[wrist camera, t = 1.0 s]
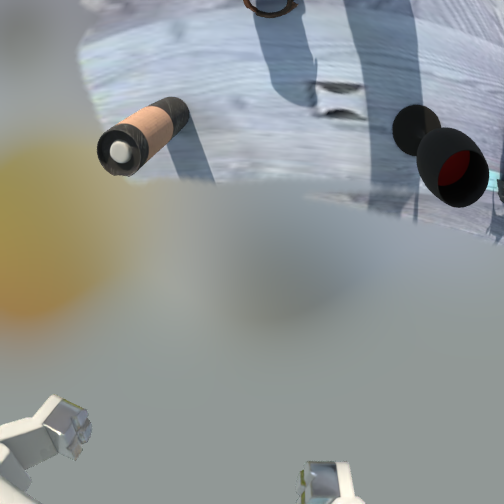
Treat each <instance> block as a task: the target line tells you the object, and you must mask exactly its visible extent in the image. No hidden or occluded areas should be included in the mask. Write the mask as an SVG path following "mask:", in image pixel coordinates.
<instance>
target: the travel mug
mask: <svg viewBox="0 0 504 504" xmlns="http://www.w3.org/2000/svg"><path fill="white" fill-rule="evenodd" d="M188 119H189V110H188V107H187V105H186V104H185V103H184V102H183V101H182V100H181V99H179V98H176V97H167V98H164V99H162V100H159V101H157V102H155V103H153V104H151V105H149V106H147V107H145V108H143V109H141V110H139V111H138V112H136V113H134V114H133V115H131V116H129V117H128V118H126V119H124V120H123V121H121V122H120V123H118V124H117V125H115V126H113V127H112V128H110V129H109V130H107V131H106V132H105V133H104V134H103V135H102V136H101V137H100V139H99V141H98V144H97V155H98V158H99V160H100V163H101V165H102V166H103V167H104V169H105V170H106V171H108V172H109V173H110V174H112V175H114V176H115V175H123V176H128V177H129V176H131V175H133V174H134V173H136V172H137V171H138V170H139V169H140V168H141V167H142V166H143V165H144V164H145V163H146V162H147V161H148V160H149V159H150V158H152V157H153V156H154V155H155V154H156V153H157V152H158V151H159V150H160V149H161V148H163V147H164V146H165V145H166V144H167V143H168V142H169V141H170V140H171V139H172V138H173V137H174V136H175V135H176V134H177V133H178V132H179V131H180V130H181V129H182V128H183V127H184V126H185V125H186V123H187V122H188Z"/></svg>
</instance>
